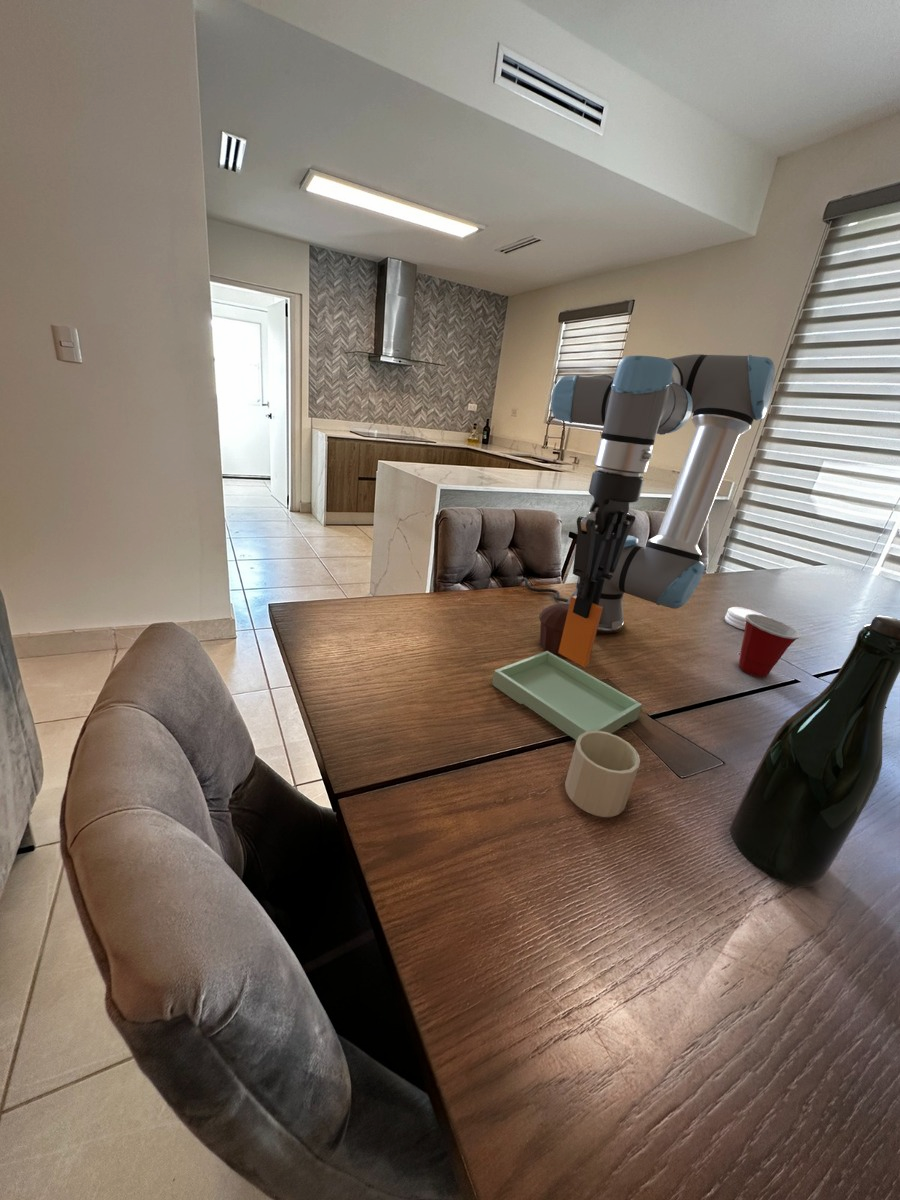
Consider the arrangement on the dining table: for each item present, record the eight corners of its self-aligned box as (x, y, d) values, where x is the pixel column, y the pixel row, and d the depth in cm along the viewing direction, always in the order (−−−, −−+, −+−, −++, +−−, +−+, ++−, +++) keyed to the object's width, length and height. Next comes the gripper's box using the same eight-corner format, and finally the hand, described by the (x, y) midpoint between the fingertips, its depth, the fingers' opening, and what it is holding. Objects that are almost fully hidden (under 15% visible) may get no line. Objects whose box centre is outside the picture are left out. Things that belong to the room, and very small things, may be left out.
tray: (491, 684, 89) (494, 670, 88) (544, 663, 99) (547, 650, 98) (586, 751, 74) (591, 734, 73) (637, 719, 84) (642, 704, 83)
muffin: (589, 645, 109) (599, 606, 106) (580, 665, 100) (591, 623, 96) (540, 630, 114) (548, 592, 110) (527, 649, 104) (535, 608, 100)
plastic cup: (790, 688, 101) (813, 639, 97) (737, 677, 103) (757, 629, 98) (769, 664, 111) (789, 618, 106) (720, 654, 113) (738, 609, 108)
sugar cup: (552, 789, 66) (564, 744, 63) (586, 766, 71) (599, 723, 68) (602, 830, 60) (618, 782, 57) (635, 802, 65) (651, 757, 62)
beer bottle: (841, 879, 58) (992, 642, 45) (782, 901, 54) (928, 649, 41) (764, 812, 67) (871, 598, 54) (709, 826, 63) (810, 601, 50)
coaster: (764, 625, 134) (768, 613, 133) (764, 636, 126) (768, 624, 125) (725, 614, 139) (729, 603, 137) (722, 624, 131) (727, 613, 129)
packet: (558, 652, 84) (571, 596, 80) (562, 651, 85) (576, 595, 81) (583, 666, 81) (598, 608, 76) (588, 664, 82) (603, 607, 77)
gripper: (614, 476, 64) (576, 631, 73) (665, 476, 73) (626, 614, 82) (570, 467, 69) (539, 613, 78) (622, 468, 78) (589, 598, 87)
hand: (584, 613), depth 80 cm, fingers closed on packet
